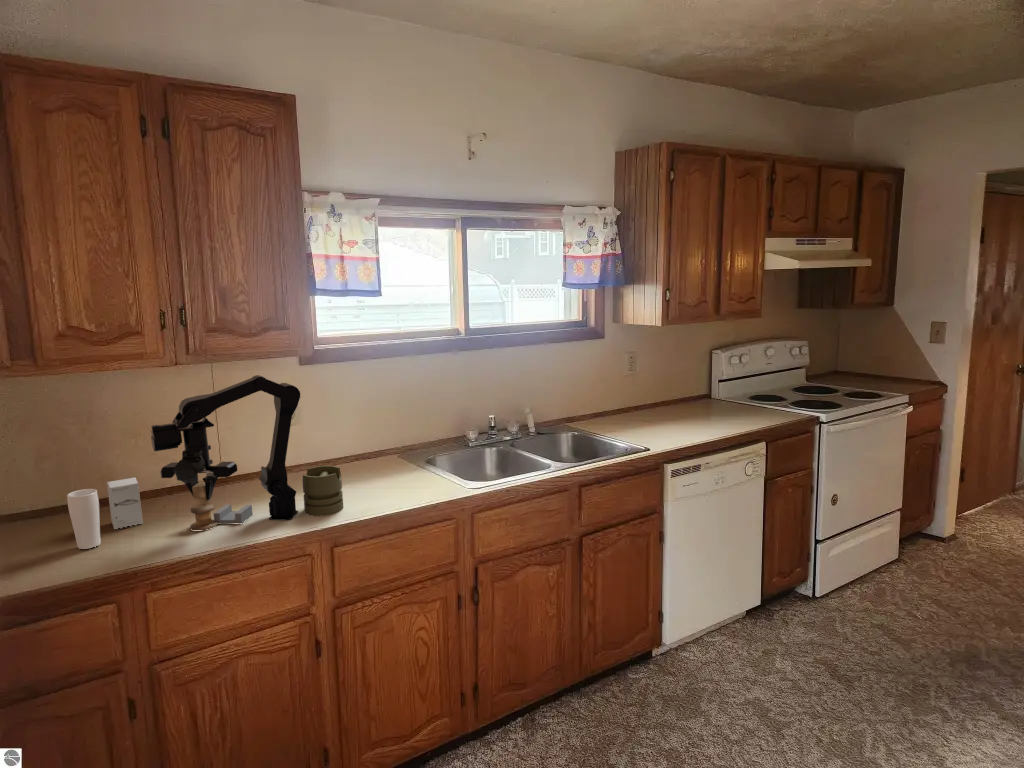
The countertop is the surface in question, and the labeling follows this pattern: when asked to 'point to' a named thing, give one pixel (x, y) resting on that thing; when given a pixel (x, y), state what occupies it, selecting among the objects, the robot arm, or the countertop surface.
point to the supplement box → (124, 503)
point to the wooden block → (201, 494)
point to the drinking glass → (85, 517)
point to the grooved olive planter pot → (322, 490)
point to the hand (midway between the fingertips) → (202, 499)
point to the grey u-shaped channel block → (232, 514)
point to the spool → (203, 517)
